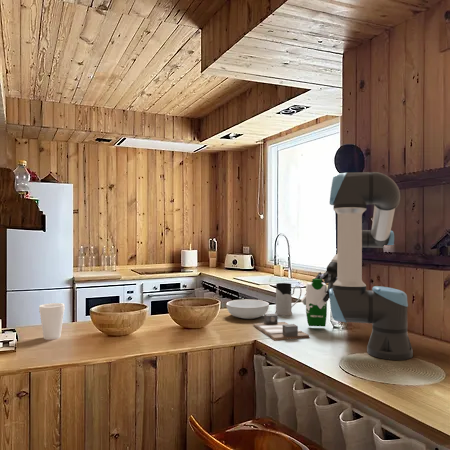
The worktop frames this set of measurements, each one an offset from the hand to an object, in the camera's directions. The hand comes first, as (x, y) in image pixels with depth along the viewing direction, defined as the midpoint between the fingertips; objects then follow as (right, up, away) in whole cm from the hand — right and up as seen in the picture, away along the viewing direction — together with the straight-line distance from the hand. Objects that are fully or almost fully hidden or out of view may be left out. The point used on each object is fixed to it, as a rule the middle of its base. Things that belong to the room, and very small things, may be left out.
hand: (310, 304), depth 194 cm
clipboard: (-14, -11, -3) cm, 18 cm away
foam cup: (-106, -11, -14) cm, 108 cm away
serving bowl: (-26, -11, +26) cm, 38 cm away
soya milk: (+3, -9, +2) cm, 10 cm away
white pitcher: (-5, -11, +35) cm, 37 cm away
